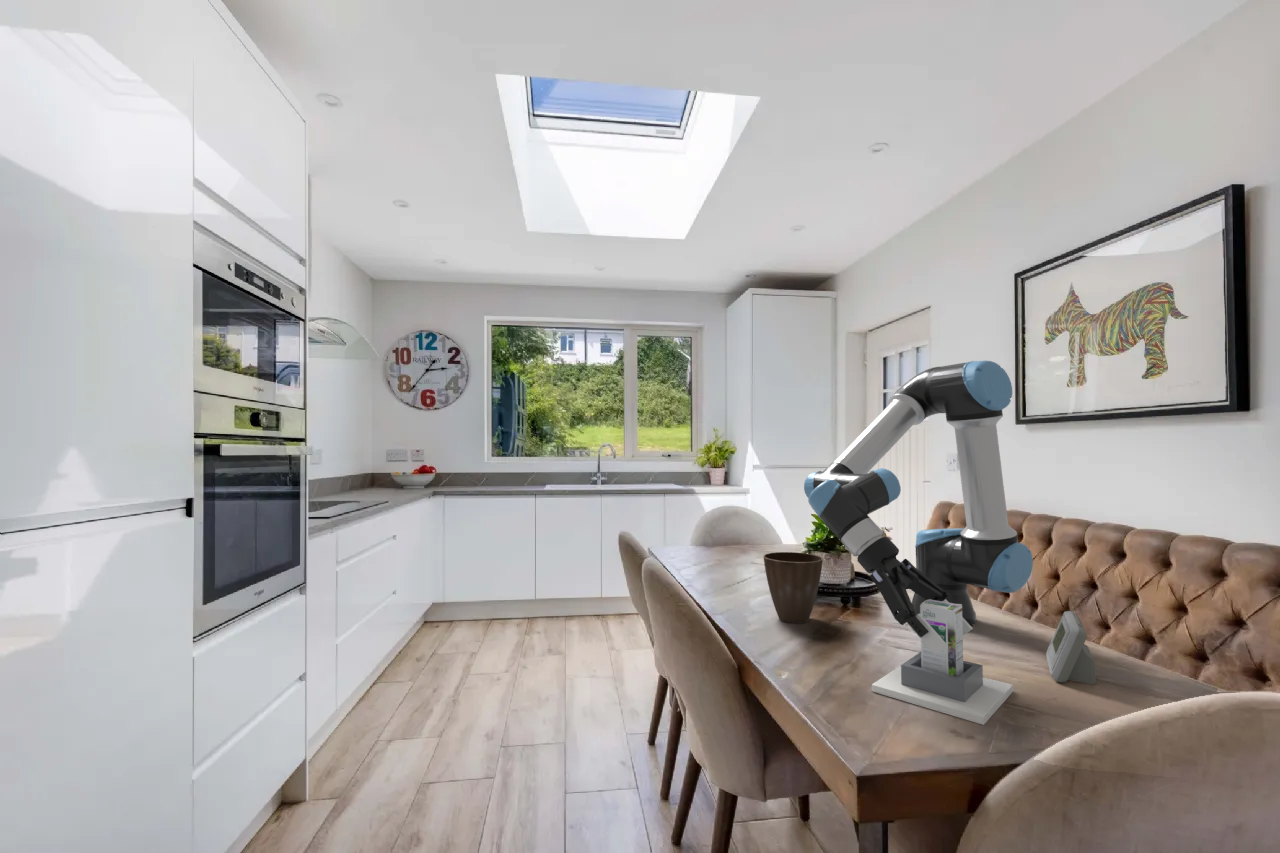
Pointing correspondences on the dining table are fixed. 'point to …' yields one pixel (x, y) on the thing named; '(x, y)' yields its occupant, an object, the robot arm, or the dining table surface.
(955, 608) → the syrup box
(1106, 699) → the dining table surface
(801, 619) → the plant pot
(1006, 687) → the socket dock
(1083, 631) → the digital clock
